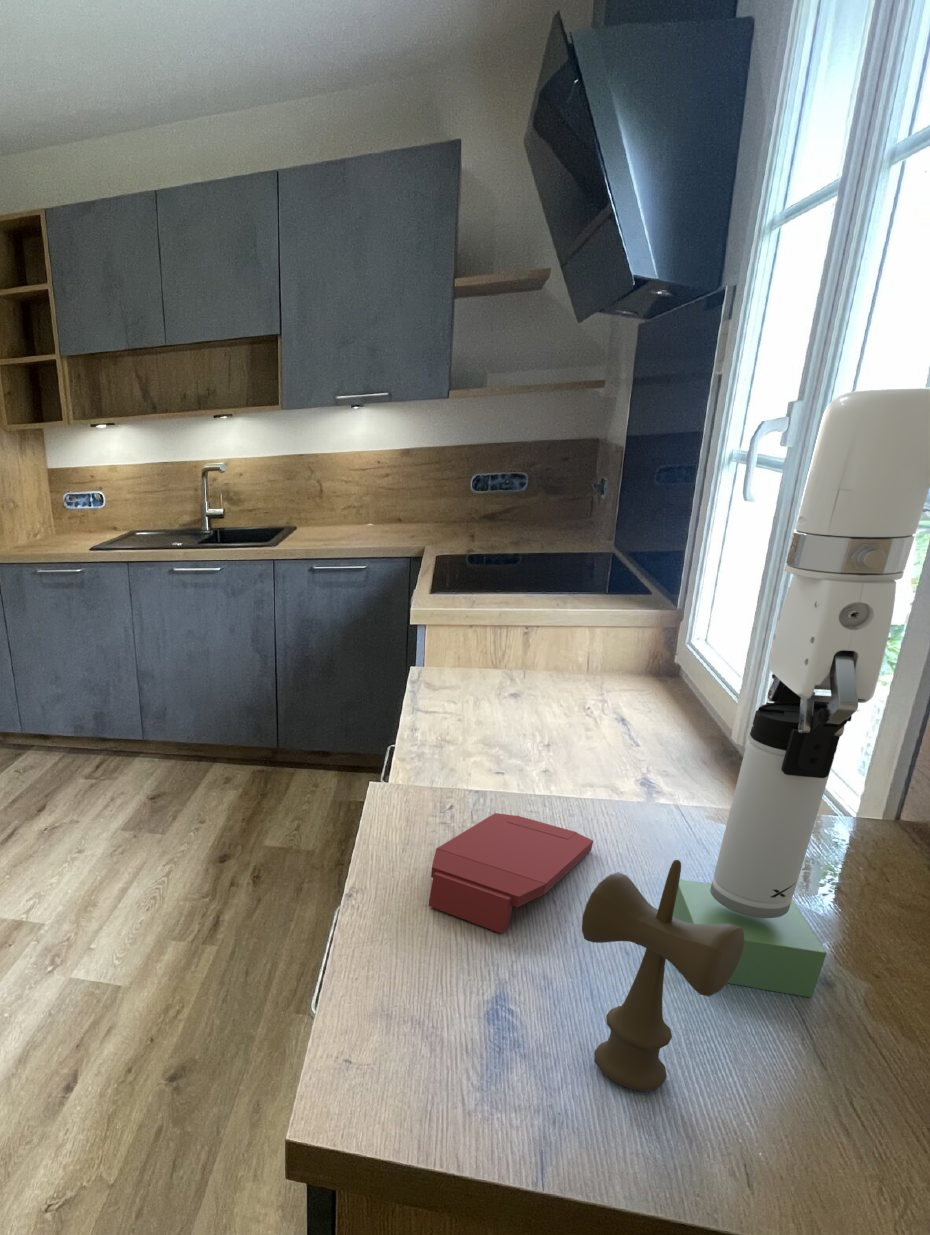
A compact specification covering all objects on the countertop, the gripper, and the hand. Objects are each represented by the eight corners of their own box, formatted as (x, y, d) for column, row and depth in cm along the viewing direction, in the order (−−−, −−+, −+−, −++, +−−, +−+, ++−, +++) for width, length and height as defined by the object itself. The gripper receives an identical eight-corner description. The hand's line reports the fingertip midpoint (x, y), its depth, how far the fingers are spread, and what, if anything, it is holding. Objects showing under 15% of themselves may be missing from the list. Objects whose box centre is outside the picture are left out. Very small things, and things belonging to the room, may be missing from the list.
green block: (777, 935, 81) (790, 894, 79) (812, 998, 72) (827, 953, 70) (666, 918, 84) (675, 878, 82) (686, 976, 75) (697, 932, 74)
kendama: (591, 1023, 70) (633, 823, 63) (709, 1092, 62) (771, 874, 55) (552, 1052, 67) (590, 846, 60) (670, 1128, 59) (731, 903, 52)
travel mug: (795, 927, 72) (858, 722, 64) (709, 908, 75) (759, 710, 67) (789, 894, 77) (847, 700, 69) (709, 877, 80) (755, 690, 72)
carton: (492, 844, 107) (411, 899, 88) (498, 810, 105) (418, 859, 87) (588, 873, 99) (521, 940, 81) (596, 837, 98) (530, 897, 80)
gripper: (960, 575, 55) (883, 806, 61) (859, 541, 70) (806, 730, 76) (829, 572, 57) (769, 795, 64) (759, 540, 72) (716, 723, 79)
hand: (790, 757), depth 70 cm, fingers closed on travel mug, 6 cm apart
